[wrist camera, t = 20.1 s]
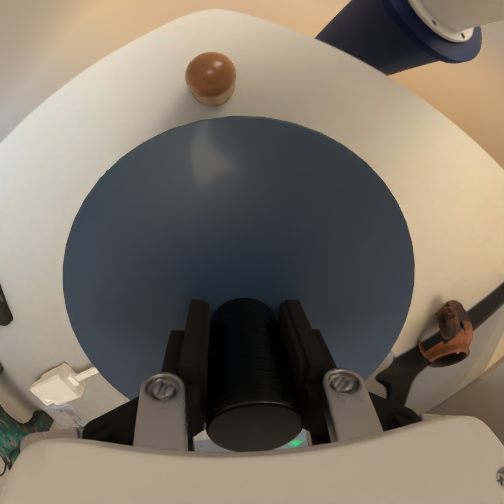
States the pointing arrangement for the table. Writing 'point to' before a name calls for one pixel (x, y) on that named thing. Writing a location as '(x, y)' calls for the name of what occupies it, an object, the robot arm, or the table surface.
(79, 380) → the charging cable
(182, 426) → the robot arm
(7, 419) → the dark green sculpted piece
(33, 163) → the table surface
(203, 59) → the brown domed cylinder
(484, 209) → the table surface
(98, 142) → the table surface
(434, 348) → the orange-brown curved ring piece
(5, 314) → the smart home device
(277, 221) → the lid
